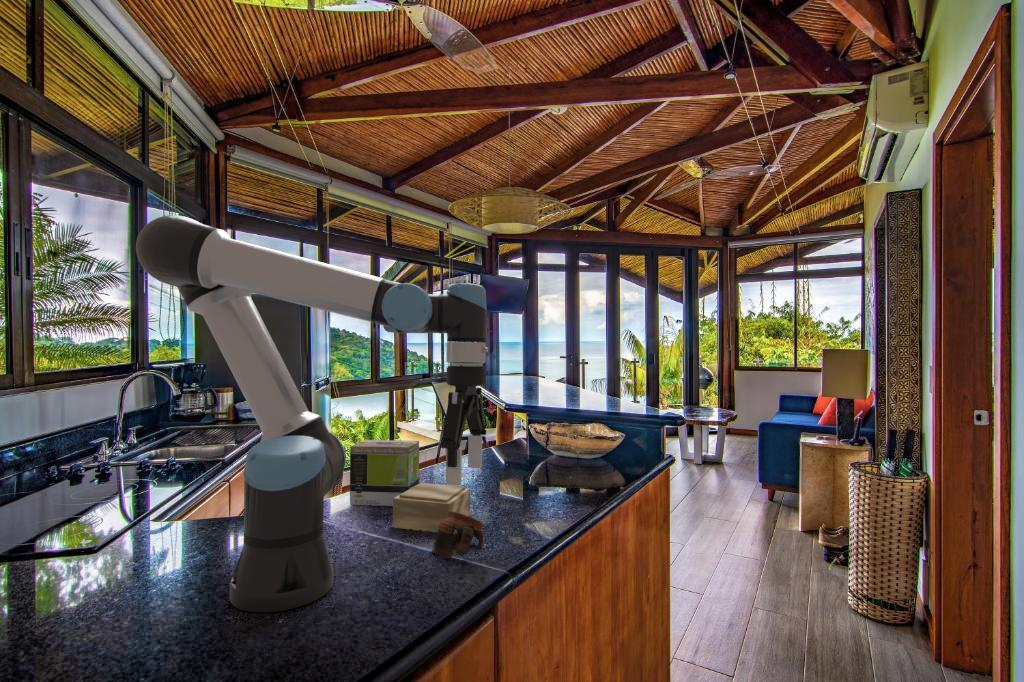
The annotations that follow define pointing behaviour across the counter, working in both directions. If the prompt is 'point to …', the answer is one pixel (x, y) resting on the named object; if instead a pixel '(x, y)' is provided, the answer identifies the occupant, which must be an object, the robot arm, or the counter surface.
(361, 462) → the tea box
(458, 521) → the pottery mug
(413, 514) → the wooden box
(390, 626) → the counter surface
